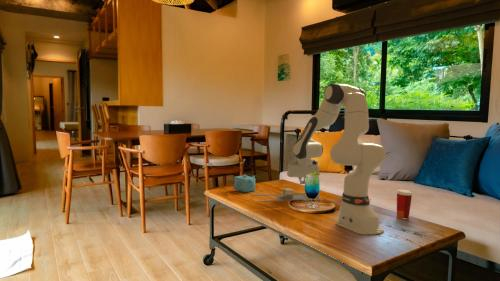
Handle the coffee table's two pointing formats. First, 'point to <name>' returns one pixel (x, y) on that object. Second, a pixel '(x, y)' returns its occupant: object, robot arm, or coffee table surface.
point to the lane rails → (285, 200)
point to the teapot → (244, 183)
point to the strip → (294, 197)
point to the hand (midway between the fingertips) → (302, 183)
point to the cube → (288, 193)
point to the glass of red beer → (403, 203)
